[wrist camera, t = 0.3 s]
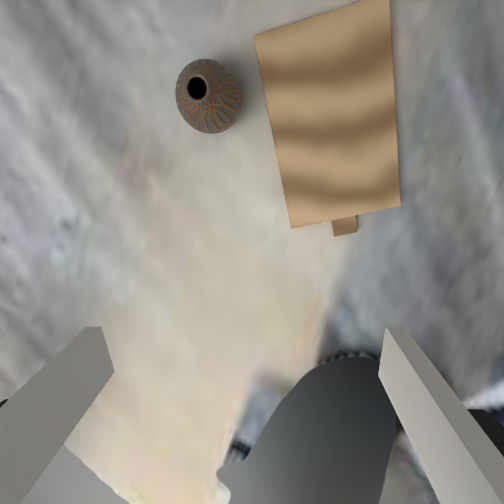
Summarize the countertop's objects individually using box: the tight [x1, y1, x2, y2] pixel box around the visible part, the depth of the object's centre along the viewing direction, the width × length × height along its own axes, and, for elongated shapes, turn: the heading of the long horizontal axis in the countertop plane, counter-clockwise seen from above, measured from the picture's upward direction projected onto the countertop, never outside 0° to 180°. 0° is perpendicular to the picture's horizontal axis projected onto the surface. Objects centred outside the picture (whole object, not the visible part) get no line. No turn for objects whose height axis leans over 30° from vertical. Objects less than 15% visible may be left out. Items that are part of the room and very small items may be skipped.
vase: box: [175, 59, 241, 134], centre depth 28 cm, size 7×7×9 cm
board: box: [254, 0, 401, 236], centre depth 32 cm, size 24×14×1 cm, turn 14°
